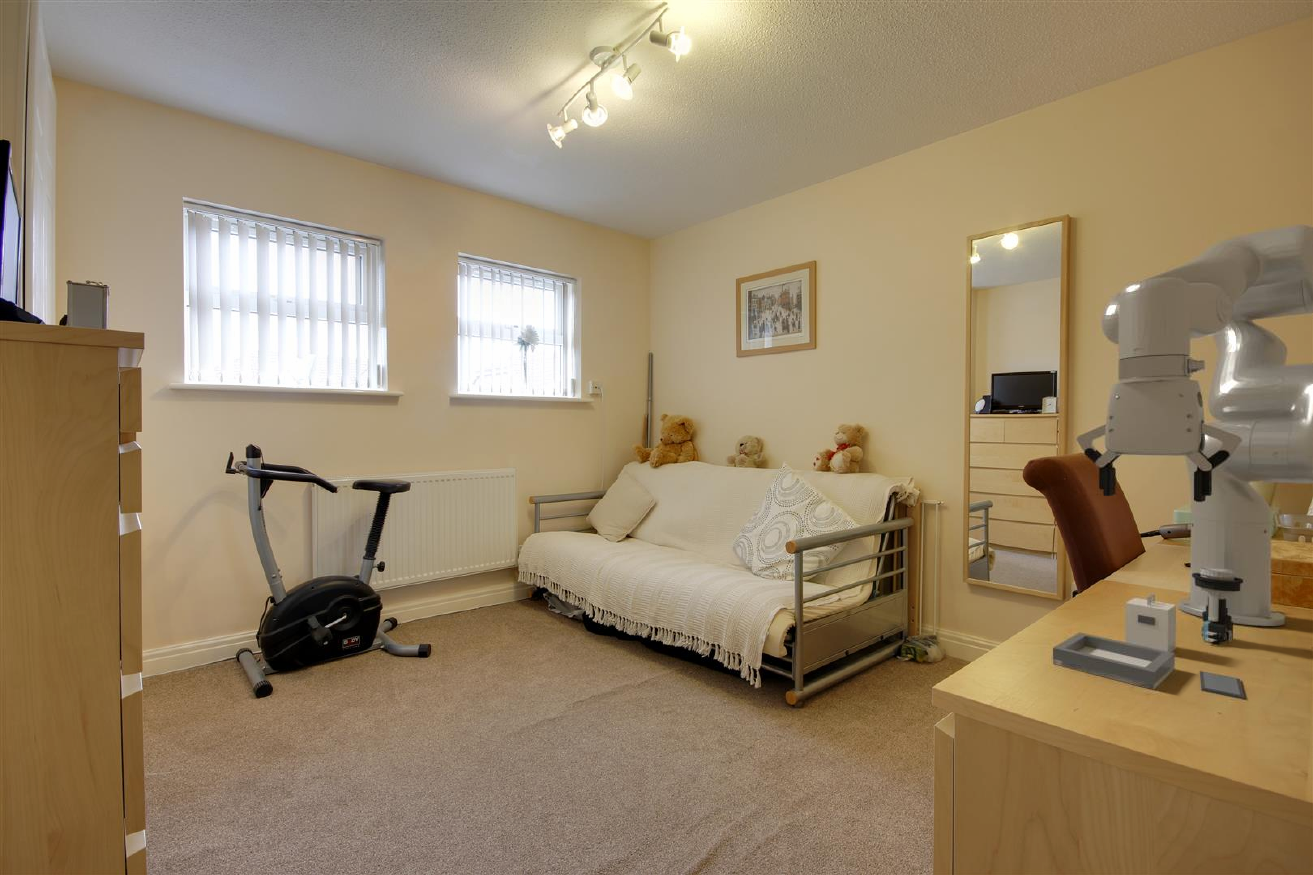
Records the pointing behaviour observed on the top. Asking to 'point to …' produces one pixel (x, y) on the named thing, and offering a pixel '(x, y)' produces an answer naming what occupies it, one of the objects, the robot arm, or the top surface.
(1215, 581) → the push button
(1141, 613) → the charger
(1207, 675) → the phone
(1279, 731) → the top surface
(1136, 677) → the dock
